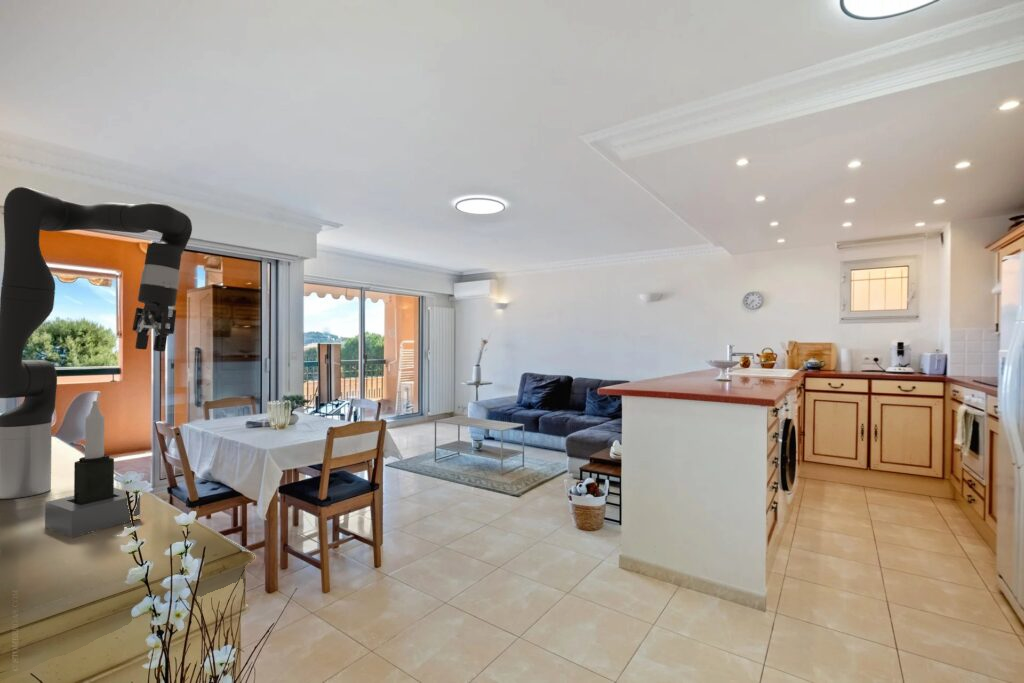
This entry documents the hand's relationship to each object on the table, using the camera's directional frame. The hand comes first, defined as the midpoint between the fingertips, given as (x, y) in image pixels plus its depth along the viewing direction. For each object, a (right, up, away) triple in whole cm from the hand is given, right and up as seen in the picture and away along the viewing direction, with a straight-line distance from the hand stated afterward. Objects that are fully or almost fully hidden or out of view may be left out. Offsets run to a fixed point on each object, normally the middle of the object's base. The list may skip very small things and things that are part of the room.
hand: (149, 350), depth 115 cm
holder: (+4, -35, -19) cm, 40 cm away
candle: (+4, -35, -19) cm, 40 cm away
